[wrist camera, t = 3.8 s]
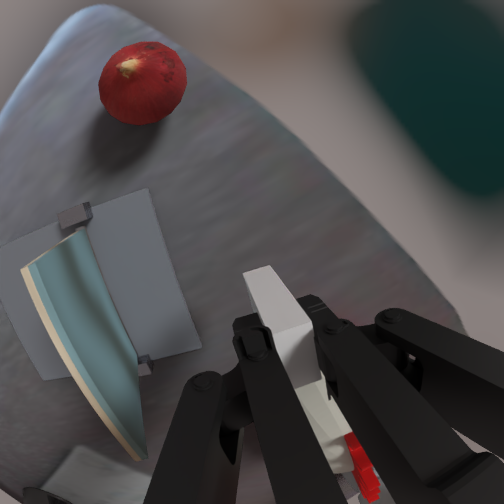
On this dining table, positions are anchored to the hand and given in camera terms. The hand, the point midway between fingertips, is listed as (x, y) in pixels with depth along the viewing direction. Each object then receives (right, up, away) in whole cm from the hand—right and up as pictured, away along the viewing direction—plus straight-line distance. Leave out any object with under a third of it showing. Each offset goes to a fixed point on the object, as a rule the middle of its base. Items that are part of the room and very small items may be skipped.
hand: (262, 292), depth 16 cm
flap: (-10, -2, +1) cm, 10 cm away
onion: (-8, +14, +4) cm, 17 cm away
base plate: (-15, -2, +7) cm, 17 cm away
